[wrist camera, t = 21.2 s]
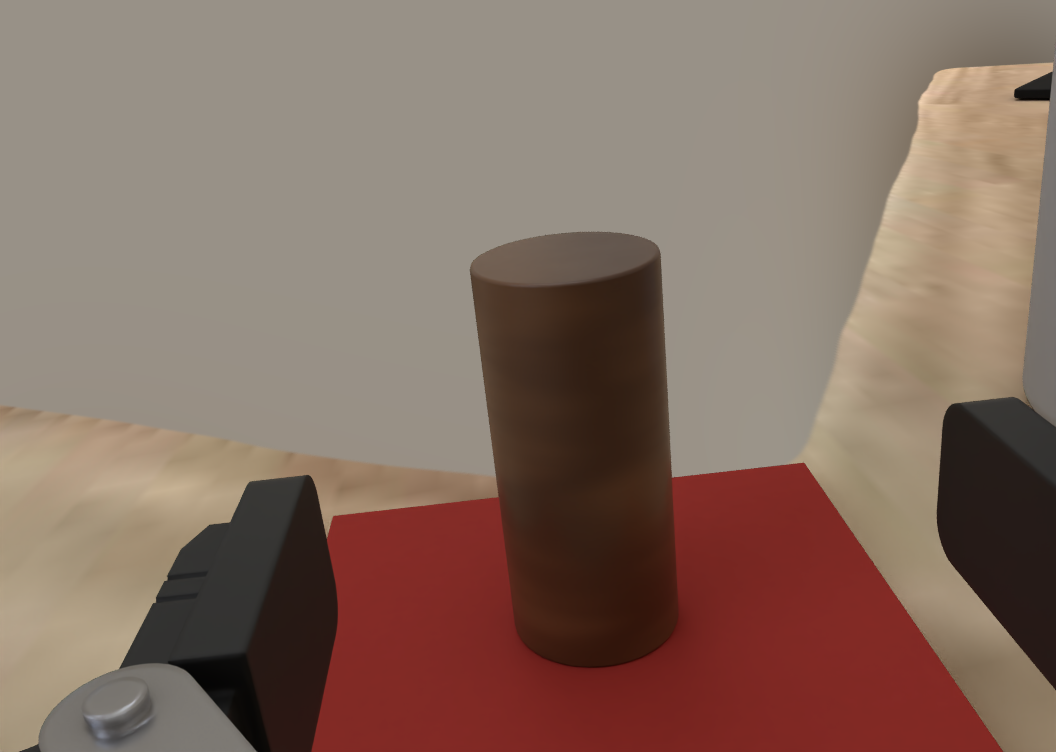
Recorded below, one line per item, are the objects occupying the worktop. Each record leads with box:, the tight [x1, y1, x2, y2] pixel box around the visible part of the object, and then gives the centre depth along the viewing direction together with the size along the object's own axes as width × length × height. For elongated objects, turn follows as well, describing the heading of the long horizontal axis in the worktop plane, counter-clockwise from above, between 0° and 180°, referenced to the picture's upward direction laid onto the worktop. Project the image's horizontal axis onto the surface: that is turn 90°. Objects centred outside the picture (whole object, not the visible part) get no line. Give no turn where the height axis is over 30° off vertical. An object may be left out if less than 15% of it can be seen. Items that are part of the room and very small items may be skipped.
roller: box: [470, 232, 678, 667], centre depth 24 cm, size 4×4×10 cm
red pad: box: [311, 463, 1003, 752], centre depth 26 cm, size 16×14×1 cm
